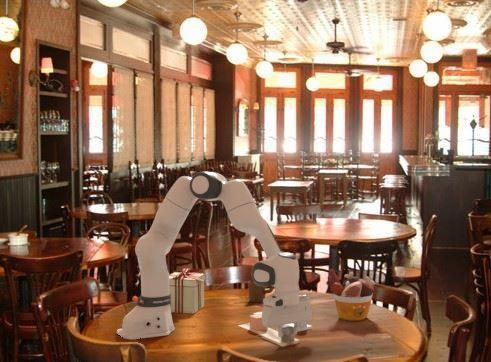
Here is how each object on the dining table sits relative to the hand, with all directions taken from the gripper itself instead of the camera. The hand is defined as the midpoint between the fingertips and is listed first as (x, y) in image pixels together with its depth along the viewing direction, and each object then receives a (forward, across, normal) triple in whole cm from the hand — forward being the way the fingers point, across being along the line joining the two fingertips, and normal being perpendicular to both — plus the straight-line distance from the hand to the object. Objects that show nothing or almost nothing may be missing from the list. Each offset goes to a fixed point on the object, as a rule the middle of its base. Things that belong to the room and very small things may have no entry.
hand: (287, 335), depth 242 cm
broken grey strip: (+3, -15, -25) cm, 29 cm away
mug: (+3, -29, -60) cm, 67 cm away
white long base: (+3, 0, -13) cm, 13 cm away
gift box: (+3, +5, -68) cm, 68 cm away
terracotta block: (+2, 0, -19) cm, 19 cm away
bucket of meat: (+3, -43, -14) cm, 45 cm away
